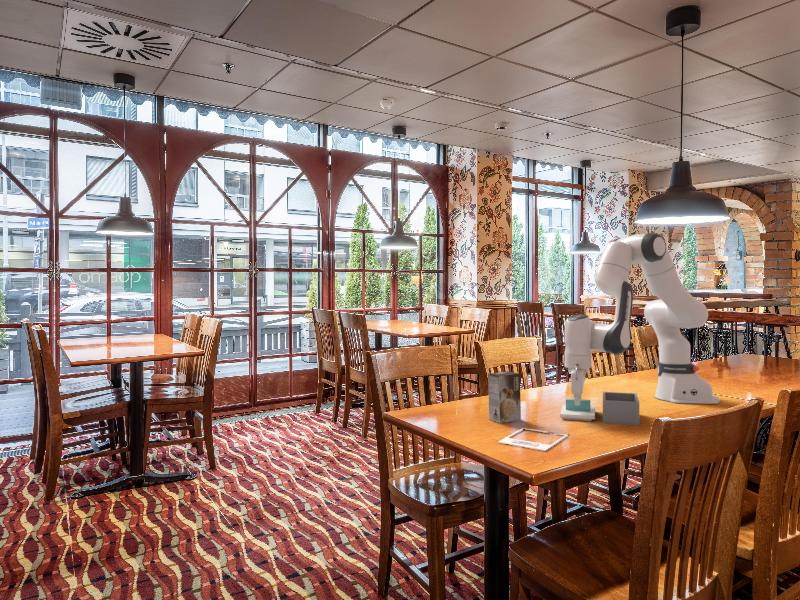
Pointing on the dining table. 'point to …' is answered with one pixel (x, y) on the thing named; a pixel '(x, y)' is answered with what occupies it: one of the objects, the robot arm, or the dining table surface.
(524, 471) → the dining table surface
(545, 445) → the photo frame
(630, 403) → the tub
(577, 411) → the lid
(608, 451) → the dining table surface
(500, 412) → the coffee box
